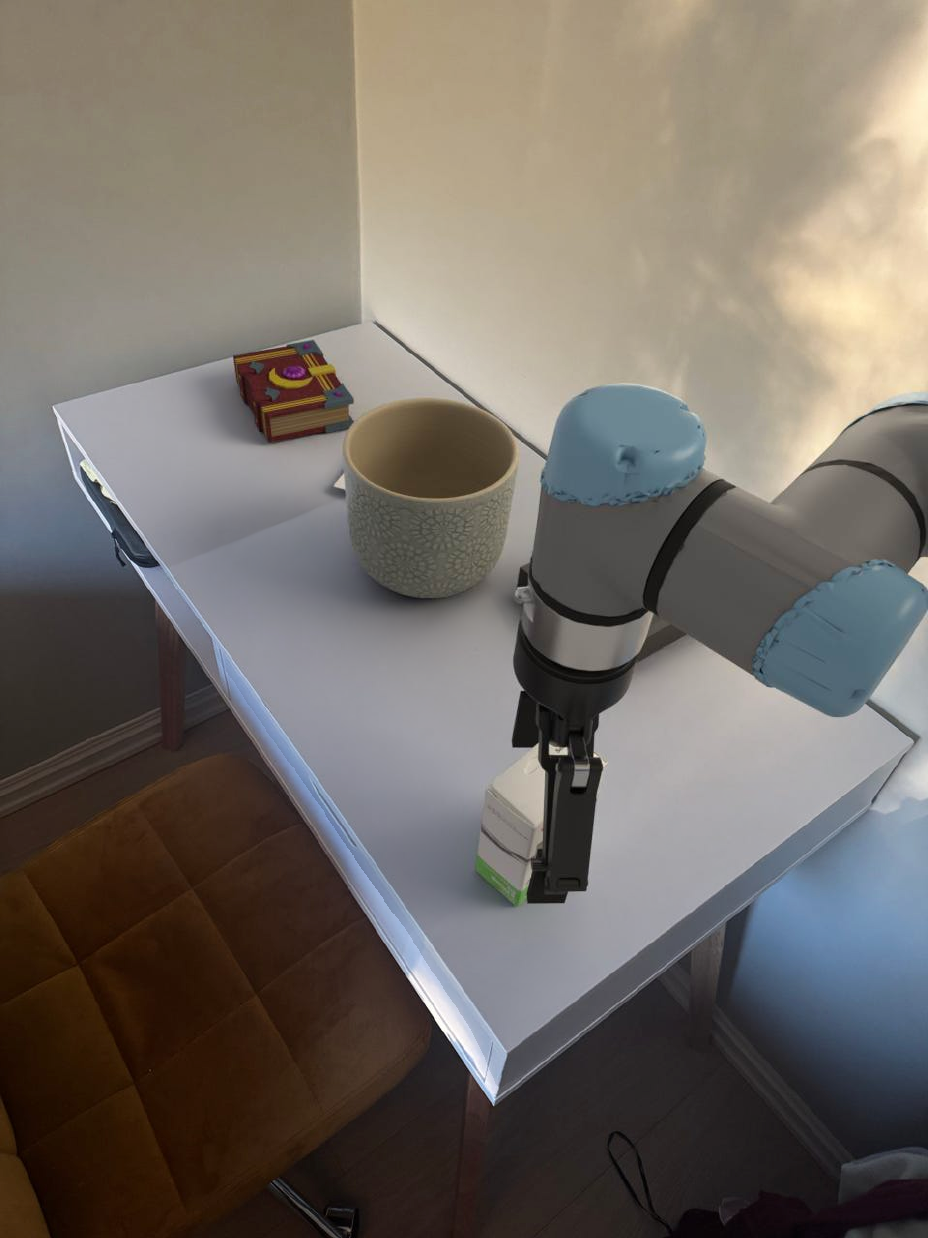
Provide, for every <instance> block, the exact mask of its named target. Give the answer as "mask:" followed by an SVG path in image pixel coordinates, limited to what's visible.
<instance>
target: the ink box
mask: <svg viewBox="0 0 928 1238" xmlns="http://www.w3.org/2000/svg"><path fill="white" fill-rule="evenodd" d="M538 747H539V743H538V744H537V745H535V746H534V747H533V748H529V750H528V751H527V752H525V753H524V754H523V755H522V756H520V757H519V758H518V759H516V760H515V761H514V762H513V763H512V764H511V765H510V766H508V767H507V768H506V769H504V771H502V772H501V773H500V774H498V775H497V776H496V777H494V778H493V779H492V781H491V783H490V784H489V785H487V787H486V788H485V794H484V801H483V809H482V816H481V824H480V832H479V839H478V846H477V855H476V860H475V861H476V862H475V871H476V872H477V873H478V874H479V875H480V876H481V877H482V878H483V879H484V880H486V881H487V882H488V883H489V884H490V885H491V886H492V887H493V888H494V889H495V890H496V891H497V892H499V893H500V894H501V895H502V896H503V897H504V898H506V900H508V902H510V903H511V904H512V905H513V906H514V907H519V906H520V905H521V904H522V903H523V902H524V901H525V900H527V896H526V893H527V889H528V885H529V881H530V878H531V874H532V869H531V858H536V854H537V850H538V849H542V844H543V817H544V789H545V770H544V769H543V768H542V767H541V765H540V763H539V761H538ZM549 755H567V747H565V748H564V747H554V746H552V745H550V744H549ZM594 757H600V758H601V760H602V763H603V771H602V774H601V779H600V783H599V787H598V791H597V797H596V802H597V801H598V798H599V795H600V792H601V789H602V785H603V782H604V779H605V775H606V772H607V768H608V765H609V762H608V761H607V760H605V759H604V758H603V757H602V756H601V755H600V754H599V753H597V751H595V750H594Z"/></svg>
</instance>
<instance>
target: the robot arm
mask: <svg viewBox="0 0 928 1238" xmlns="http://www.w3.org/2000/svg"><path fill="white" fill-rule="evenodd" d="M706 446H707V431H706V427H705V425H704V423H703V421H702V418H700V416H699V415H698V414H697V413H694V412H691V411H690V409H689V406H688V404H687V403H686V402H685V401H684V400H682V399H681V398H679V397H678V396H676V395H674V394H672V393H669V392H667V391H665V390H662V389H659V388H656V387H653V386H650V385H649V386H648V385H644V384H638V383H629V382H627V383H626V382H624V383H623V382H622V383H621V382H620V383H619V382H617V383H607V384H601V385H597V386H593V387H590V388H588V389H585V390H584V391H583V392H581V393H579V394H578V395H576V396H574V397H572V398H571V399H570V400H568V402H566V404H564V405H563V407H562V408H561V409H560V411H559V414H558V416H557V418H556V420H555V424H554V428H553V432H552V435H551V440H550V445H549V449H548V453H547V456H546V462H545V464H544V467H543V468H542V469H541V473H540V479H539V482H540V493H539V494H540V495H539V503H538V513H537V519H536V526H535V532H534V533H535V534H534V540H533V547H532V551H531V556H530V558H529V563H530V567H529V572H528V586H527V587H518V588H517V587H516V589H515V590H514V601H515V602H516V603H517V604H521V605H522V609H521V618H520V620H519V623H518V627H517V632H516V639H515V645H514V650H513V651H514V652H513V657H512V658H513V659H512V664H513V671H514V675H515V677H516V680H517V682H518V683H519V685H520V687H521V688H522V690H520V692H519V697H518V703H517V709H516V714H515V720H514V725H513V732H512V737H511V748H513V749H514V748H515V749H531V748H533V747H534V746H535V745H537V744H538V743H539V747H538V761H539V763H540V765H541V767H542V768H543V769H544V770H545V789H544V817H543V844H542V849H538V850H537V854H536V858H531V869H532V874H531V878H530V881H529V885H528V889H527V893H526V896H527V898H526V904H528V905H530V904H531V905H534V904H535V905H537V904H539V905H541V904H542V905H543V904H545V905H546V904H549V905H550V904H565V903H566V899H567V896H568V894H569V892H587V889H588V886H589V872H590V863H591V862H590V861H591V852H592V844H593V843H592V842H593V834H594V826H595V825H594V824H595V815H596V807H597V801H596V797H597V791H598V787H599V783H600V779H601V774H602V771H603V763H602V760H601V758H600V757H594V751H595V734H596V732H597V730H598V729H599V727H600V726H599V725H600V714H602V713H603V712H606V711H607V710H608V709H610V708H612V707H613V706H615V705H616V704H617V703H618V702H620V701H621V700H622V699H623V697H624V696H625V695H626V693H627V692H628V690H629V688H630V686H631V682H632V680H633V676H634V673H635V669H636V666H637V664H638V663H637V661H638V658H639V654H640V650H641V647H642V645H643V643H644V641H645V639H646V636H647V633H648V630H649V626H650V623H651V620H652V617H653V614H655V615H657V616H658V617H660V618H662V619H664V620H665V621H667V622H668V623H670V624H672V625H673V626H675V627H676V628H678V629H680V630H681V631H683V632H684V633H686V636H689V637H691V638H692V639H693V640H695V641H697V642H698V643H700V644H702V645H703V646H705V647H706V648H708V649H710V650H711V651H713V652H715V653H716V654H717V655H719V656H721V657H722V658H724V659H725V660H727V661H728V662H730V663H732V664H734V665H735V666H737V667H738V668H740V669H741V670H743V671H745V672H746V673H748V674H749V675H751V676H753V677H754V679H755V680H756V681H757V682H759V683H761V684H762V685H764V686H765V687H766V688H770V689H771V688H773V689H776V690H778V691H780V692H782V693H784V694H786V695H787V696H789V697H791V698H793V699H795V700H797V701H799V702H800V703H802V704H805V705H806V706H808V707H810V708H812V709H814V710H816V711H818V712H820V713H822V714H823V715H826V716H828V717H831V718H845V717H849V716H853V715H854V714H857V712H859V711H860V710H861V709H862V708H863V707H864V706H865V704H866V703H867V702H868V701H869V699H870V698H871V697H872V695H873V694H874V692H875V691H876V689H877V688H878V687H879V685H880V684H881V683H882V681H883V679H884V678H885V676H886V675H887V673H888V672H889V671H890V669H891V668H892V667H893V665H894V664H895V662H896V661H897V659H898V658H899V656H900V655H901V653H902V652H903V651H904V649H905V647H906V646H907V644H908V642H909V641H910V639H911V638H912V636H913V635H914V633H915V632H916V629H917V628H918V627H919V626H920V624H921V622H922V620H923V619H924V617H925V616H926V614H927V612H928V588H927V586H925V584H923V583H922V582H920V581H919V580H917V579H916V578H914V577H913V576H911V575H910V574H909V573H910V572H911V571H912V569H913V568H914V567H915V566H916V564H917V562H918V561H920V559H922V558H928V391H911V392H910V391H909V392H904V393H901V394H897V395H894V396H891V397H889V398H887V399H885V400H883V401H882V402H880V403H879V404H877V405H876V406H874V407H873V408H872V409H870V410H869V411H868V412H866V413H862V414H861V415H859V416H858V417H856V418H855V419H853V421H851V422H850V423H849V424H848V425H847V426H846V427H845V428H844V429H843V430H842V431H841V432H840V434H839V435H838V436H837V437H836V439H834V440H833V442H831V444H829V446H828V447H826V449H825V450H823V452H821V454H819V456H817V458H816V459H814V460H813V461H812V462H811V464H809V466H808V467H806V468H805V470H803V471H802V473H800V474H799V475H798V476H797V477H796V478H795V479H794V480H793V481H792V482H791V483H789V485H788V486H787V487H786V488H784V490H782V491H781V492H780V493H779V494H778V495H777V496H776V497H775V498H773V500H771V501H770V502H768V501H767V500H765V499H762V498H761V497H759V496H757V495H755V494H753V493H750V492H749V491H747V490H744V489H742V488H741V487H739V486H737V485H735V484H732V483H731V482H729V481H727V480H726V479H724V478H722V477H720V476H719V475H717V474H714V473H713V472H710V471H709V470H706V469H705V468H703V467H704V465H705V461H706V459H707V457H706V455H705V451H706ZM549 744H550V745H552V746H554V747H564V748H565V747H567V755H549Z"/></svg>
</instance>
